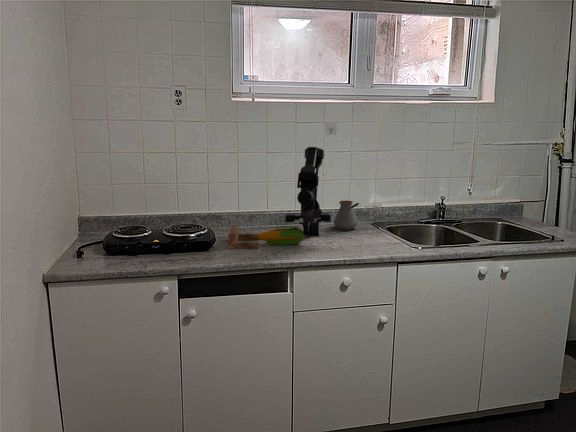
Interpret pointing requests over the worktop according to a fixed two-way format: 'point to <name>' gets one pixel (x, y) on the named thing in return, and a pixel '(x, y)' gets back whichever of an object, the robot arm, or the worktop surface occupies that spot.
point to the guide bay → (236, 236)
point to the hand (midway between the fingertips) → (307, 237)
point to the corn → (283, 236)
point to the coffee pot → (346, 216)
